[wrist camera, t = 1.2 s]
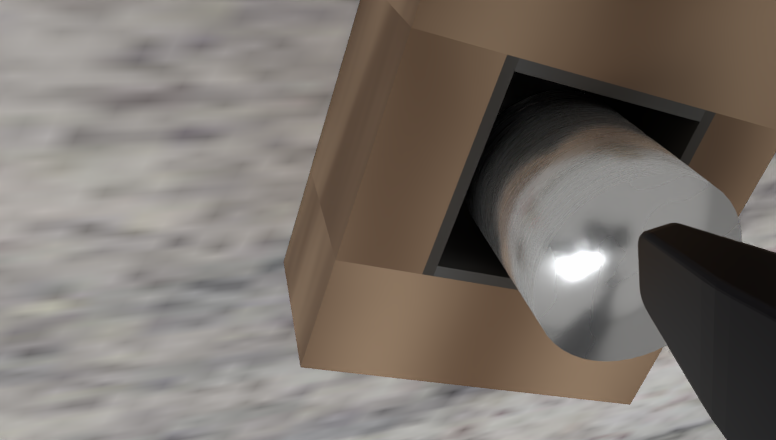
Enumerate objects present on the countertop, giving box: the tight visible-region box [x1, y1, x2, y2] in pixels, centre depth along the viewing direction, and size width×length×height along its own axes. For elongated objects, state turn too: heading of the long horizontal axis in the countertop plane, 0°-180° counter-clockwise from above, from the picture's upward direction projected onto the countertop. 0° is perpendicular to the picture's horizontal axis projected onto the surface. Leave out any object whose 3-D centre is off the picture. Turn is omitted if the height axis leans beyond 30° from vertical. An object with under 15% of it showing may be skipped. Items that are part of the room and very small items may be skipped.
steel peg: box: [465, 90, 742, 361], centre depth 17 cm, size 4×4×5 cm
